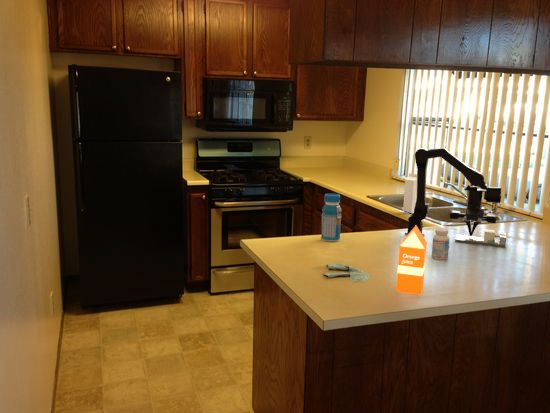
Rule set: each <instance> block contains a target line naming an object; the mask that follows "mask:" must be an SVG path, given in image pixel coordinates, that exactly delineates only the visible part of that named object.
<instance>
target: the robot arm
mask: <svg viewBox="0 0 550 413" xmlns="http://www.w3.org/2000/svg"><path fill="white" fill-rule="evenodd" d="M414 158H415V159H414V160H415V164H416V165H415V166H416V169H417V171H416V172H417V200H416V204H415V208H414V213H413V214H409V217H408V218H407V219H408V220H407V221H408V222H407V232H404V235H406V236H407V235H408V234H409V233H410V232H411V231H412V229H413V228H414V227H415V226H417V227H418V229H419V231H420V232H421V234H422V236H423V237H424V236H425V234H424V233H423V221H424V220H425V219H426V218H427V216H428V215H429V213H430V209H429V208H430V204H431V203H430V202H427V199H426V198H427V197H426V193H427V192H426V191H427V190H426V189H427V168H428V164H429V159H436V158H441V159H443V160H444V161H446V163H448V164H449V165H451V166H452V167H453V168H454V169H456V170H457V171H458V172H460V173H461V174H462V175H463V177H465V179H466V180H467V181H468V182H469V183H470V184H471V185H470V184H468V185H466V186H465V187H464V191H467V192H468V193H467V194H468V196H467V201H466V202H467V203H466V209H465V213H461V211H459V210H451V211H450V213H449V219H452V220H458V219H460V218H462V220H463V222H464V223H465V224H466V226H467V229H468V233H469V236H474V232H475V230H476V228H477V227H478V225H479V224H480V225H481V224H482V221H485V222H487V224H497V215H496V214H489V213H487V214H486V215H485V214H484V213H485V210H484V209H482V204H483V203H482V201H483V200H485V201H486V203H491V204H492V203H493V204H501V201H502V187H500V186H495V187H494V186H488V184H487V183H486V181H485V176H484V174H483V173H482V172H480V171H478V170H476V169H475V168H472V167H470V166H469V165H467V164H466V163H465V162H463V161H462V160H460V159H459V158H458V157H457V156H456V155H454V154H452V153H451V152H450V151H449V150H448V149H446V148H445V147H439V148H429V149H427V148H426V147H421V148H419V149H417V150H416V151H415V153H414ZM479 188H480V189H479ZM472 222H473V224H472Z"/></svg>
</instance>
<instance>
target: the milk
mask: <svg viewBox="0 0 550 413" xmlns="http://www.w3.org/2000/svg"><path fill="white" fill-rule="evenodd" d="M403 193H404V194H403V205H402V206H403V207H402V212H403V211H407V212H411V213H413V212H414V208H415V204H416V200H417V174H416V173H411V172H410V173H408V176H407V177H406V178H405V179H404V192H403Z"/></svg>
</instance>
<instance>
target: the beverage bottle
mask: <svg viewBox="0 0 550 413" xmlns="http://www.w3.org/2000/svg"><path fill="white" fill-rule="evenodd" d="M339 203H341V195H340V194H339V193H325V194H324V205H323V206H322V209H321V210H322V214H321V236H320V239H321V241H324V242H330V243H334V242H339V241H340V240H341V228H342V226H341V225H342V224H341V222H342V214H341V212H342V208H341V205H340V204H339Z"/></svg>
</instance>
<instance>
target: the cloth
mask: <svg viewBox="0 0 550 413" xmlns="http://www.w3.org/2000/svg"><path fill="white" fill-rule="evenodd" d="M325 267H327V270H328V271H331V270H332V271H344V272H330V273H329V272H325V273H323V274H322V276H325V277H326V278H327V279H332V278H342V277H343V278H345V277H349V281H350V282H352V283H357V282H359V283H366V282H367V281H368V280H370V279H371V277H372V276H371V275H370V274H369V273H367V272H365V271H363V270H362V269H360V268H358V267H353V266H350V265H347V264H345V263H340V262H339V263H338V262H334V263H333V264H331V265H330V264H326V265H325Z"/></svg>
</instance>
